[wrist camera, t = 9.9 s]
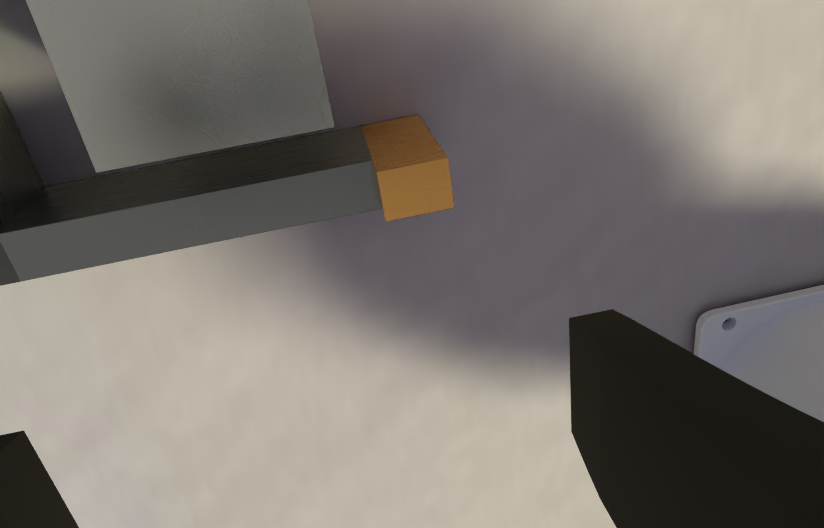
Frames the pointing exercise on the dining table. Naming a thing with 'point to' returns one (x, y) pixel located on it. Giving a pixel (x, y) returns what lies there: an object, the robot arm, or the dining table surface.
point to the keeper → (212, 195)
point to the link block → (183, 74)
